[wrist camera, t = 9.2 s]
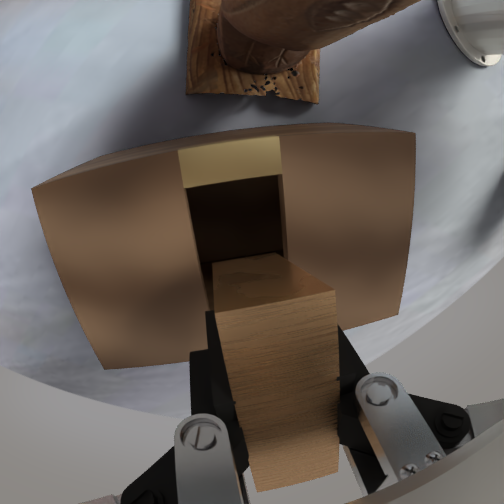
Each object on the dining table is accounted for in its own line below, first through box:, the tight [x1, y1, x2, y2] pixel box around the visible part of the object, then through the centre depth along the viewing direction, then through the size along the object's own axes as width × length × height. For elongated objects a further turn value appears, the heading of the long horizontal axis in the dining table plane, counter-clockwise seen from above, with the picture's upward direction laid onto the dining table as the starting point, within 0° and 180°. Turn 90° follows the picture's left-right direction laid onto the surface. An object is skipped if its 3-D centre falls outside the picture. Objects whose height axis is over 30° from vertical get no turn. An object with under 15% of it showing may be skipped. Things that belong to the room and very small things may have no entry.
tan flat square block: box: [212, 252, 340, 492], centre depth 9 cm, size 6×2×6 cm
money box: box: [31, 123, 416, 370], centre depth 20 cm, size 12×20×12 cm, turn 96°
